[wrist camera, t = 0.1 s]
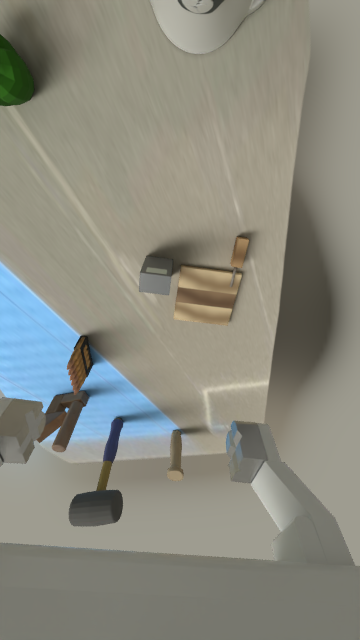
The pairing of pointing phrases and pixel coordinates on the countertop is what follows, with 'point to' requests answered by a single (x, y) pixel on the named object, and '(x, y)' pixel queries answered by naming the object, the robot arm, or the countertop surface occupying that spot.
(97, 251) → the countertop surface
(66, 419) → the wooden block
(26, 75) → the bell pepper
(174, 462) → the handle
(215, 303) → the plywood board
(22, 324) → the countertop surface
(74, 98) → the countertop surface
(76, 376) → the ammunition clip
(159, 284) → the block
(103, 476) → the rubber mallet
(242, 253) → the awl
